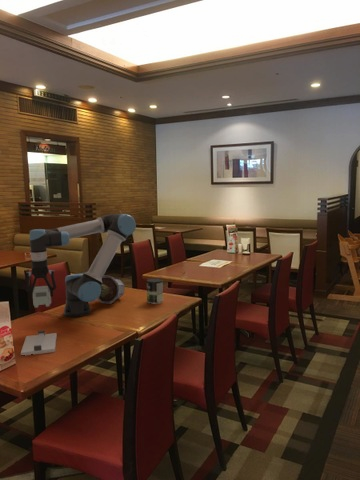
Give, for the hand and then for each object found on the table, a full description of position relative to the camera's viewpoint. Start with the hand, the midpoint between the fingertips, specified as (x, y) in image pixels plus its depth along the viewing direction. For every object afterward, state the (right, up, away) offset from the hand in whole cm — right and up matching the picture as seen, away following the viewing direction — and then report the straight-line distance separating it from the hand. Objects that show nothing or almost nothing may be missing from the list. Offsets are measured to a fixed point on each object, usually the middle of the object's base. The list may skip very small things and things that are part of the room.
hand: (42, 303), depth 199 cm
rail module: (0, -1, 0) cm, 1 cm away
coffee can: (+55, -7, +48) cm, 73 cm away
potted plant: (+24, -8, +45) cm, 52 cm away
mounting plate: (+6, -16, -19) cm, 26 cm away
